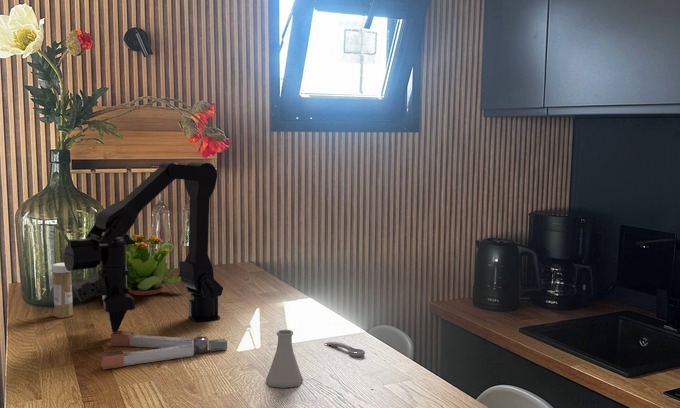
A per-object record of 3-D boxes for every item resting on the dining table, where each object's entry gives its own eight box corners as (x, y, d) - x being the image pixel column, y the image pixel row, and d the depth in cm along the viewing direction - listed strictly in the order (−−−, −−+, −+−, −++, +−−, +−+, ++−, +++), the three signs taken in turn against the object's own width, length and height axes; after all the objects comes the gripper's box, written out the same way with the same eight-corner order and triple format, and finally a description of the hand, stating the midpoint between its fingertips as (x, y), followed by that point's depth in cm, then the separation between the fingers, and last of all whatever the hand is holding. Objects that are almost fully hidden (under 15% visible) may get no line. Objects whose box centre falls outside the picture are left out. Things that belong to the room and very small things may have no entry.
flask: (266, 375, 132) (266, 326, 131) (302, 374, 132) (303, 326, 131) (265, 389, 125) (265, 337, 124) (303, 389, 125) (304, 337, 124)
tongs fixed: (224, 346, 148) (224, 335, 147) (229, 351, 144) (229, 339, 144) (100, 363, 136) (100, 351, 135) (103, 369, 132) (102, 356, 132)
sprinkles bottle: (74, 316, 169) (73, 264, 167) (55, 319, 166) (54, 266, 165) (71, 312, 172) (69, 261, 171) (52, 314, 170) (50, 263, 168)
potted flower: (202, 285, 204) (202, 229, 202) (170, 305, 181) (169, 242, 179) (126, 280, 208) (125, 225, 206) (85, 299, 185) (83, 237, 183)
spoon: (358, 360, 142) (357, 351, 142) (322, 349, 151) (321, 341, 151) (368, 357, 144) (367, 348, 144) (332, 347, 153) (331, 338, 153)
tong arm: (211, 347, 147) (211, 335, 146) (205, 354, 143) (205, 341, 142) (116, 341, 149) (116, 329, 149) (108, 347, 145) (107, 335, 145)
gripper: (71, 260, 156) (73, 324, 158) (80, 276, 140) (82, 348, 141) (120, 256, 161) (121, 319, 163) (135, 272, 145) (136, 341, 146)
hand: (114, 331), depth 153 cm, fingers closed
